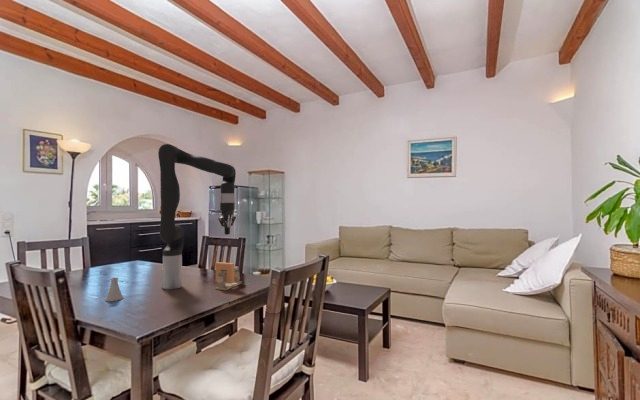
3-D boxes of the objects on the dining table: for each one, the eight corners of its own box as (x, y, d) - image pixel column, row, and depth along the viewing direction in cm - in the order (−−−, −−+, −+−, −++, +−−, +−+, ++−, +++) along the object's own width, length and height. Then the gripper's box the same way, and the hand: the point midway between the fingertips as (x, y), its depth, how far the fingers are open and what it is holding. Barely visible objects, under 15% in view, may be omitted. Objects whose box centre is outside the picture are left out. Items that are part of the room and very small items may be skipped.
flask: (104, 302, 149) (104, 280, 149) (106, 298, 155) (106, 277, 155) (122, 300, 152) (122, 278, 152) (124, 296, 159) (123, 275, 159)
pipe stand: (225, 290, 169) (225, 271, 169) (215, 289, 171) (215, 271, 171) (241, 283, 183) (241, 266, 183) (232, 282, 185) (232, 265, 185)
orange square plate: (215, 281, 174) (215, 262, 174) (218, 280, 176) (218, 262, 176) (231, 283, 171) (231, 264, 170) (234, 282, 173) (234, 263, 173)
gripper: (228, 201, 184) (228, 233, 184) (213, 201, 171) (213, 235, 171) (240, 202, 181) (240, 233, 181) (225, 202, 169) (225, 236, 169)
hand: (227, 234), depth 176 cm, fingers closed
